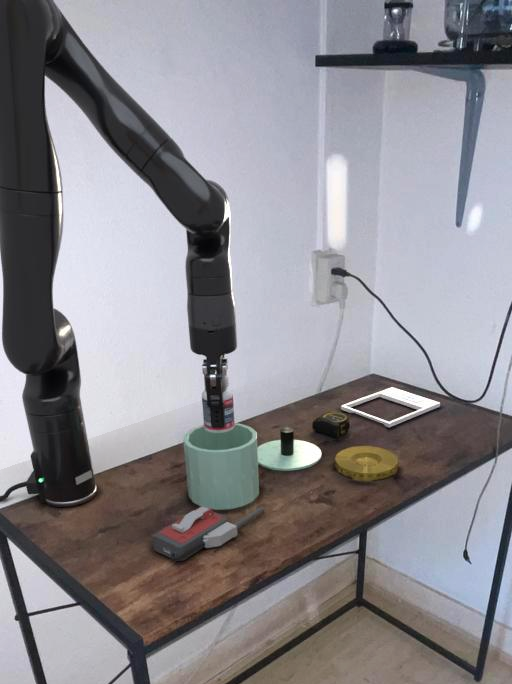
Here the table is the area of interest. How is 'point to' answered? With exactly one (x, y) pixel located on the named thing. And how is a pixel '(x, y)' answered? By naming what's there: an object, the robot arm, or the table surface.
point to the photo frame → (398, 397)
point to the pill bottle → (227, 411)
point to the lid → (288, 453)
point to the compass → (366, 463)
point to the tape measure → (331, 424)
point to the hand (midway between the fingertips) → (218, 419)
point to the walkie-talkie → (197, 533)
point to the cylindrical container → (222, 467)
